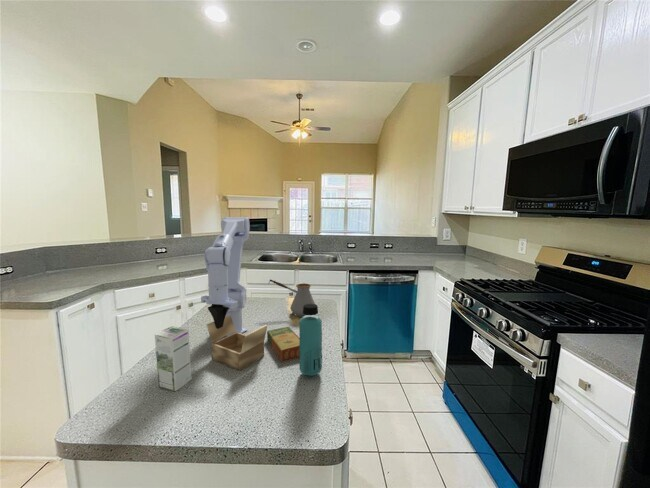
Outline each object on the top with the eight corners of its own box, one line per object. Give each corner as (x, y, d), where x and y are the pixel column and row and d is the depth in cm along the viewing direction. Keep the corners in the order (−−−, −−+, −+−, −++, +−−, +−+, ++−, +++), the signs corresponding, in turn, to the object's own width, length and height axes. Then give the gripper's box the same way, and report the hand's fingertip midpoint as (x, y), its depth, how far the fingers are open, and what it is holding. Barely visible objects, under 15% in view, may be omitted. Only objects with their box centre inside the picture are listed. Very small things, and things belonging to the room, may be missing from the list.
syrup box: (192, 379, 77) (189, 328, 75) (174, 392, 71) (171, 337, 70) (176, 375, 79) (173, 325, 77) (157, 388, 73) (153, 333, 71)
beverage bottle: (313, 384, 75) (314, 311, 73) (293, 376, 79) (293, 306, 76) (326, 372, 81) (327, 304, 78) (307, 365, 84) (307, 299, 82)
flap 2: (244, 335, 80) (245, 336, 79) (266, 324, 87) (267, 325, 87) (241, 352, 81) (242, 353, 81) (262, 340, 89) (264, 340, 88)
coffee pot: (317, 309, 131) (318, 277, 130) (314, 319, 120) (314, 284, 118) (272, 307, 133) (272, 276, 132) (265, 316, 122) (264, 282, 120)
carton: (281, 363, 86) (280, 349, 86) (266, 341, 100) (266, 329, 100) (306, 356, 90) (306, 343, 89) (289, 336, 104) (288, 325, 104)
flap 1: (212, 342, 87) (211, 342, 87) (235, 331, 95) (234, 331, 95) (207, 324, 87) (206, 324, 88) (230, 314, 95) (229, 315, 95)
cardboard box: (211, 359, 87) (211, 343, 87) (237, 346, 96) (236, 331, 95) (240, 370, 81) (239, 354, 81) (264, 355, 90) (263, 340, 89)
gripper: (192, 285, 89) (193, 327, 90) (223, 290, 82) (225, 336, 83) (211, 281, 96) (212, 320, 97) (242, 285, 88) (243, 328, 89)
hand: (219, 327), depth 90 cm, fingers closed, pressing on flap 1
